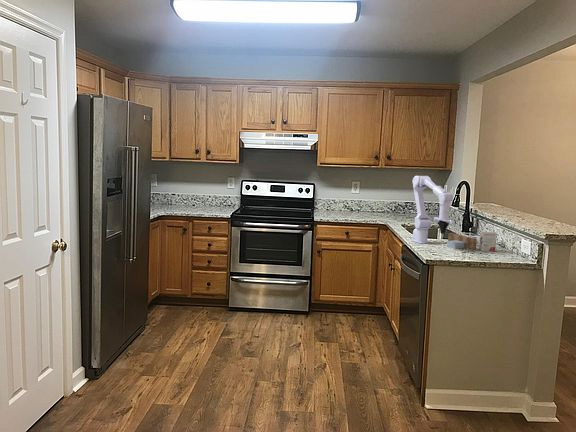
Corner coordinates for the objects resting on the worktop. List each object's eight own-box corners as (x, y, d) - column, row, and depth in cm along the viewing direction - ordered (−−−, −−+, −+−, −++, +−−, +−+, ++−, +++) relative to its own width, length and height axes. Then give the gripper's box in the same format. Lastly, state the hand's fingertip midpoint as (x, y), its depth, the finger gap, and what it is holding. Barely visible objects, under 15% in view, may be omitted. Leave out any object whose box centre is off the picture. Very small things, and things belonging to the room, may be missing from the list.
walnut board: (447, 243, 312) (448, 233, 311) (451, 243, 314) (451, 233, 313) (472, 250, 295) (473, 238, 294) (475, 249, 296) (476, 238, 296)
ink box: (492, 249, 298) (493, 231, 297) (495, 251, 293) (497, 232, 292) (478, 249, 298) (480, 230, 296) (481, 251, 293) (483, 232, 291)
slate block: (446, 247, 303) (447, 241, 302) (455, 246, 307) (456, 240, 306) (455, 249, 297) (455, 243, 296) (464, 248, 300) (464, 242, 300)
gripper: (431, 210, 299) (429, 231, 301) (448, 213, 286) (446, 235, 288) (439, 210, 302) (437, 231, 304) (457, 213, 290) (455, 235, 292)
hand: (442, 233), depth 296 cm, fingers closed
